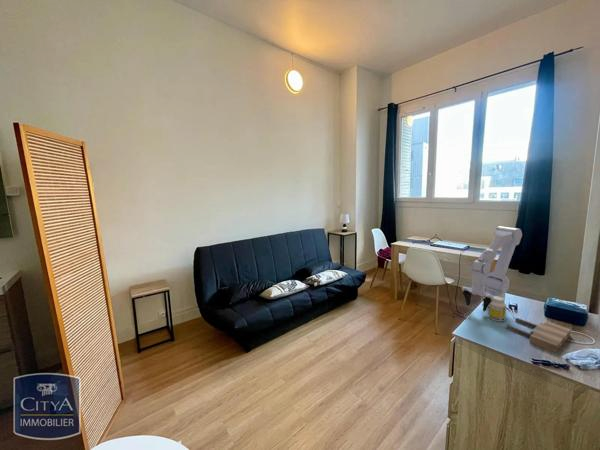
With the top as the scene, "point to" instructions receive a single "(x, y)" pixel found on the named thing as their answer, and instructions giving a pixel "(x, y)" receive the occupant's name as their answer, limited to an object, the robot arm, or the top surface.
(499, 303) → the pill bottle
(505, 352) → the top surface
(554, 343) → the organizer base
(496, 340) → the top surface
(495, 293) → the robot arm
